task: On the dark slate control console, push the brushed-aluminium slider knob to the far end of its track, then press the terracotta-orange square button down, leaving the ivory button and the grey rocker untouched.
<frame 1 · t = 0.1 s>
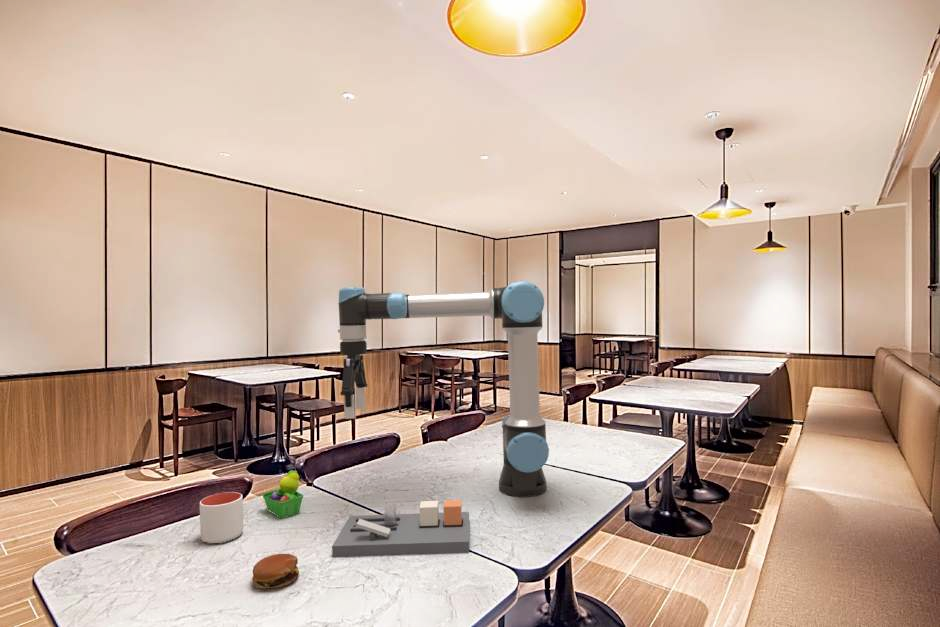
hand: (355, 413, 148), 28 cm above the table, fingers open, 13 cm apart
fruit basket: (285, 512, 148), on the table
button A: (452, 512, 130), point 5 cm above the table, slide at 0.0 cm
burger: (276, 581, 109), on the table
cup: (222, 538, 132), on the table
button B: (429, 513, 130), point 5 cm above the table, slide at 0.0 cm
console: (405, 537, 128), on the table
slider knob: (390, 515, 130), point 5 cm above the table, slide at 0.0 cm
rocker: (373, 527, 123), point 5 cm above the table, hinge at -20.0°
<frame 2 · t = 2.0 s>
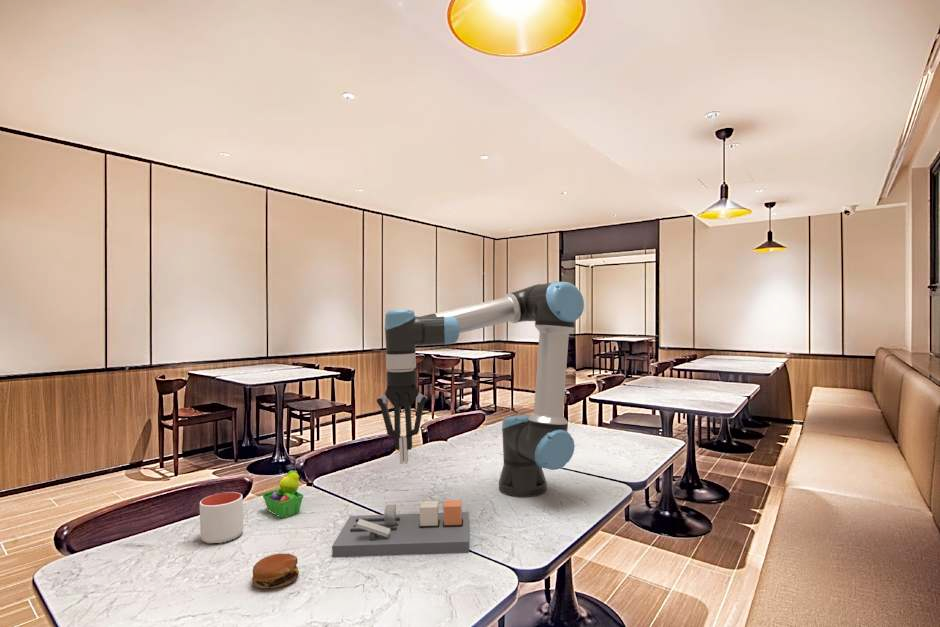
hand: (404, 462, 130), 18 cm above the table, fingers closed
nothing on the table moved.
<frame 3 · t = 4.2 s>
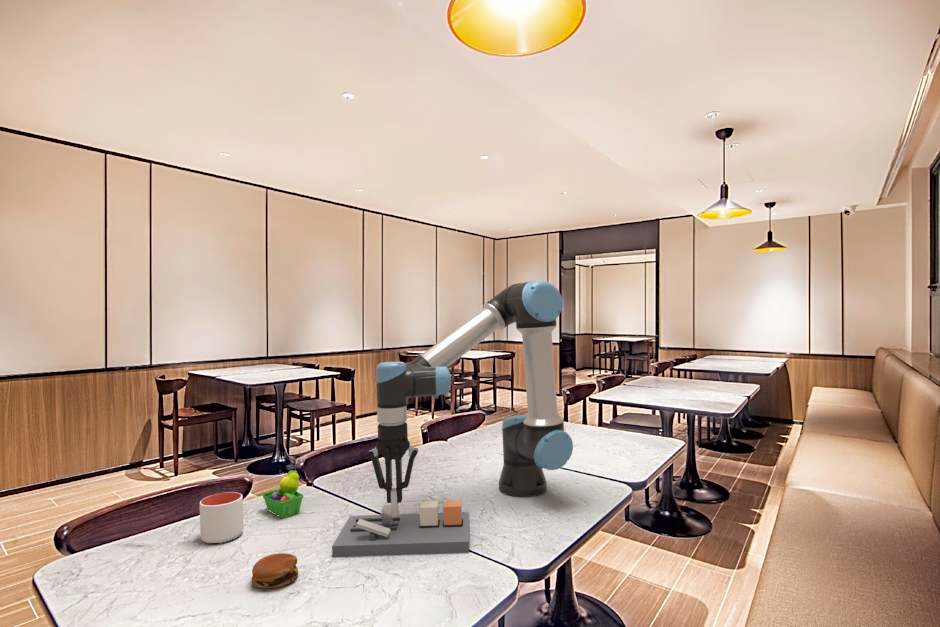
hand: (395, 514, 130), 5 cm above the table, fingers closed
slider knob: (387, 515, 130), point 5 cm above the table, slide at 0.7 cm, touching gripper
everything else where it was.
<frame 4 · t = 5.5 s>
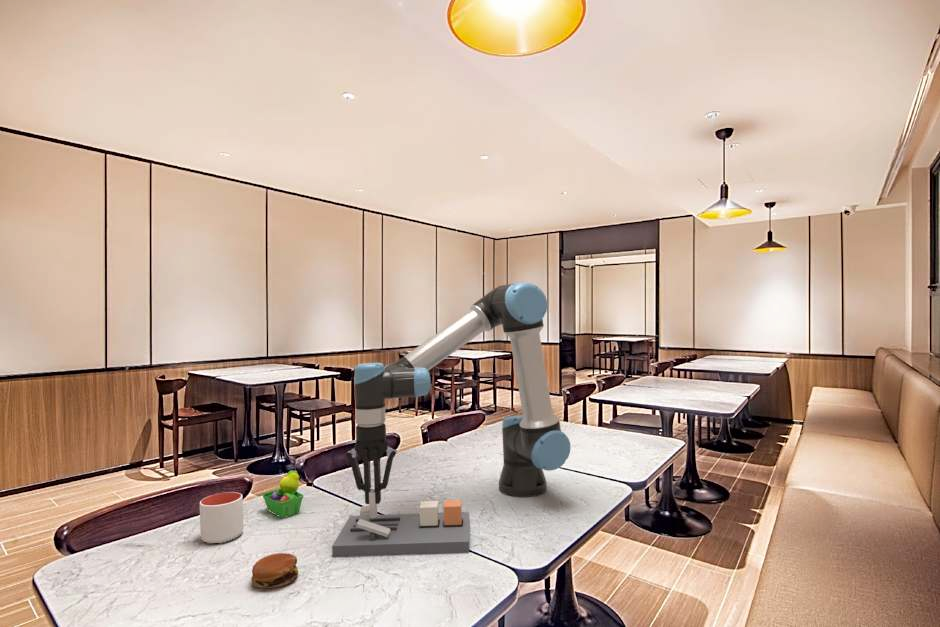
hand: (373, 516, 130), 5 cm above the table, fingers closed
slider knob: (366, 516, 130), point 5 cm above the table, slide at 6.2 cm, touching gripper
everything else where it was.
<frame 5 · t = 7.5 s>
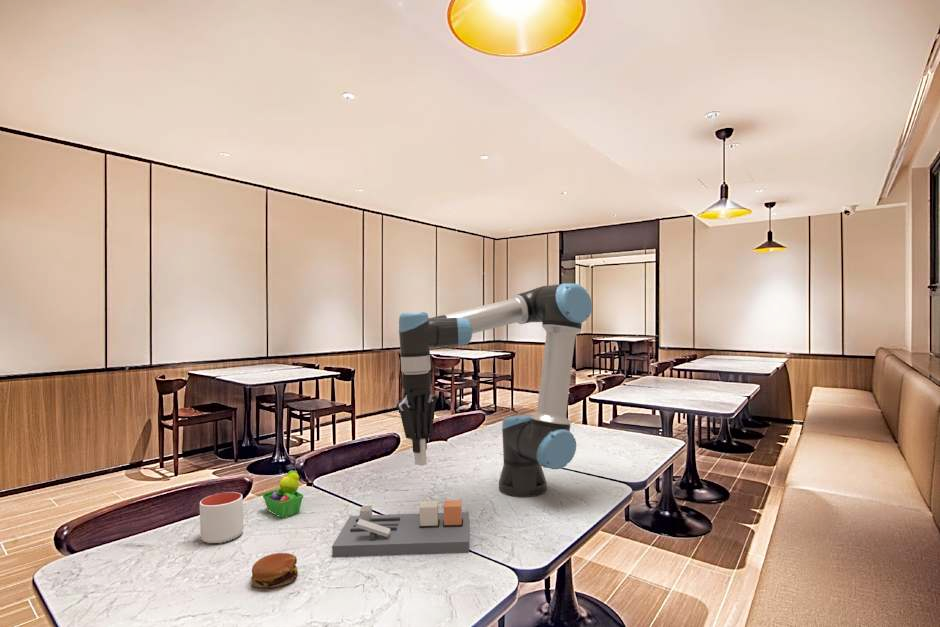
hand: (420, 464, 130), 18 cm above the table, fingers closed
slider knob: (366, 516, 130), point 5 cm above the table, slide at 6.2 cm
everything else where it was.
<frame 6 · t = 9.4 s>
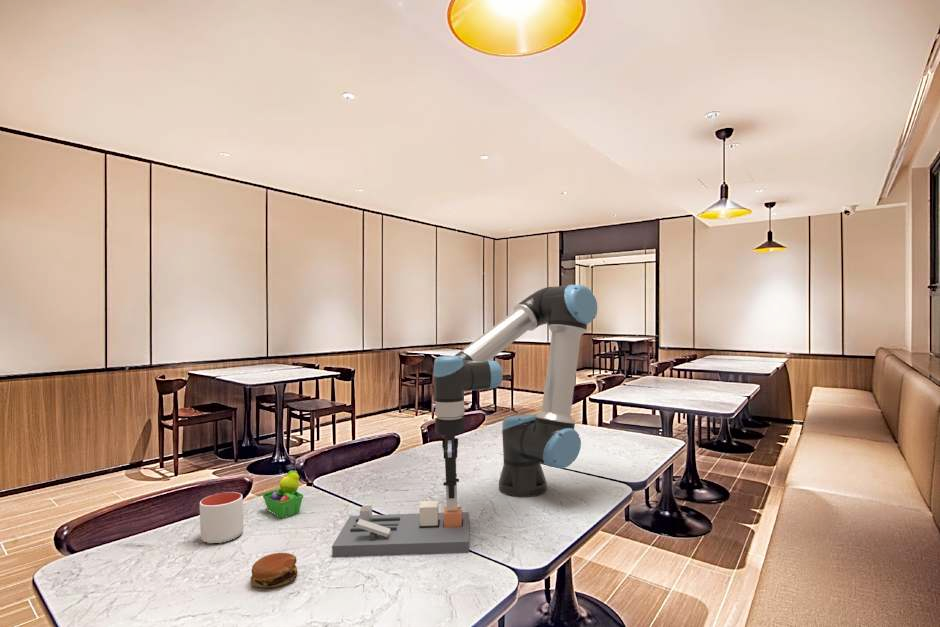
hand: (452, 509, 130), 6 cm above the table, fingers closed
button A: (453, 519, 130), point 3 cm above the table, slide at 1.7 cm
everything else where it was.
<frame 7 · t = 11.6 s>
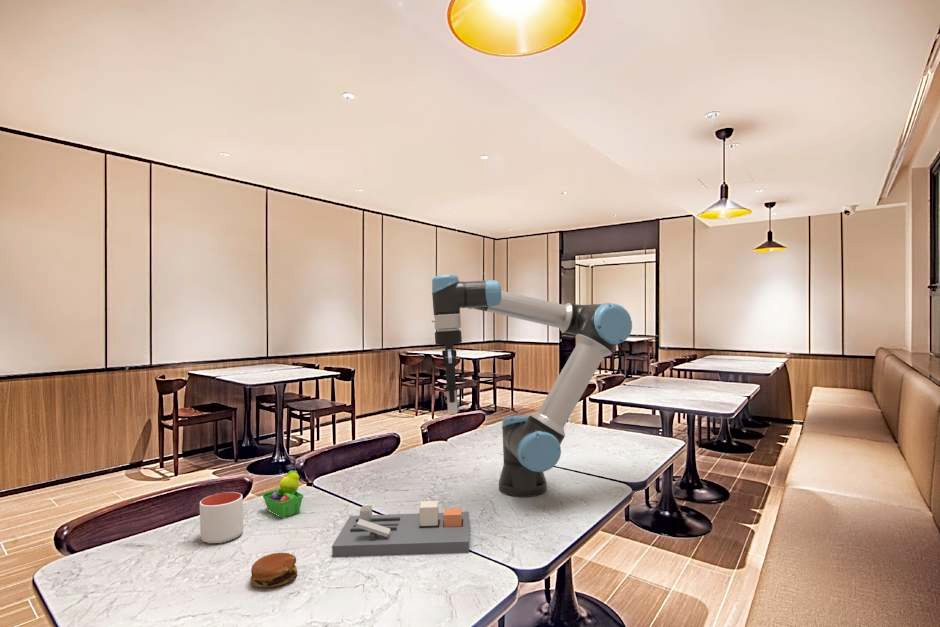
hand: (452, 413, 144), 28 cm above the table, fingers closed
button A: (453, 520, 130), point 3 cm above the table, slide at 2.1 cm
everything else where it was.
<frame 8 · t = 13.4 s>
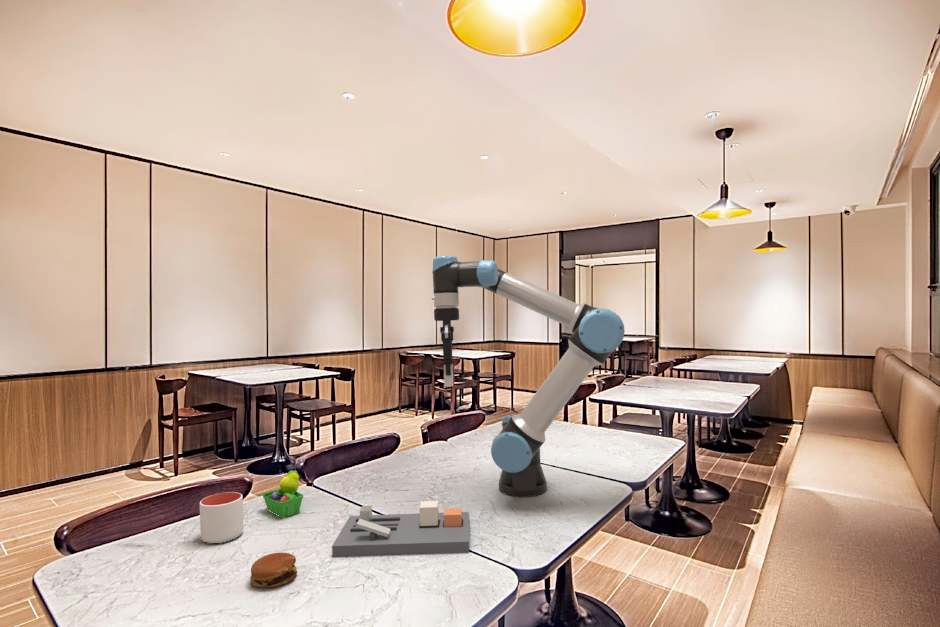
hand: (448, 385, 153), 34 cm above the table, fingers closed
nothing on the table moved.
at the end: slider knob slide at 6.2 cm; button A slide at 2.1 cm; button B slide at 0.0 cm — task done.
